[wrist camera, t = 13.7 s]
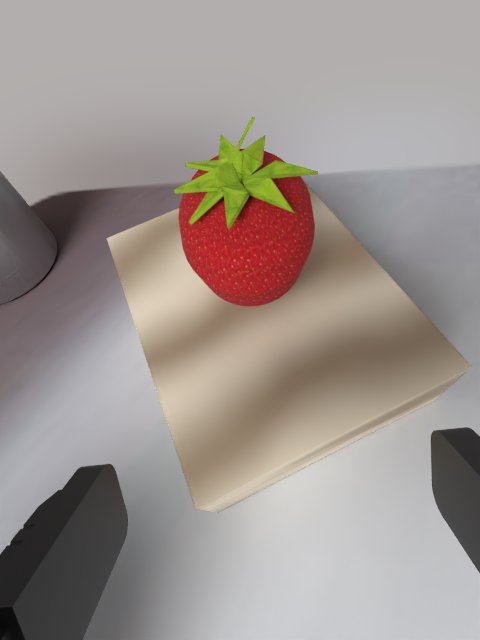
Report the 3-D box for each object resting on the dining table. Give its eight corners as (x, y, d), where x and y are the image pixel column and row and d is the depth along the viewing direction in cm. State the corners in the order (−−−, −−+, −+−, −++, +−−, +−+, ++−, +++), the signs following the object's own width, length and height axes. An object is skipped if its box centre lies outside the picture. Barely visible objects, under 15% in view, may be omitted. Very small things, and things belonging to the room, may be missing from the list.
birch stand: (135, 281, 28) (106, 238, 24) (288, 215, 30) (287, 162, 25) (217, 512, 19) (195, 508, 15) (435, 400, 20) (471, 366, 16)
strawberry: (296, 236, 22) (297, 48, 13) (323, 343, 18) (348, 175, 9) (204, 252, 22) (146, 79, 14) (210, 359, 18) (134, 213, 10)
